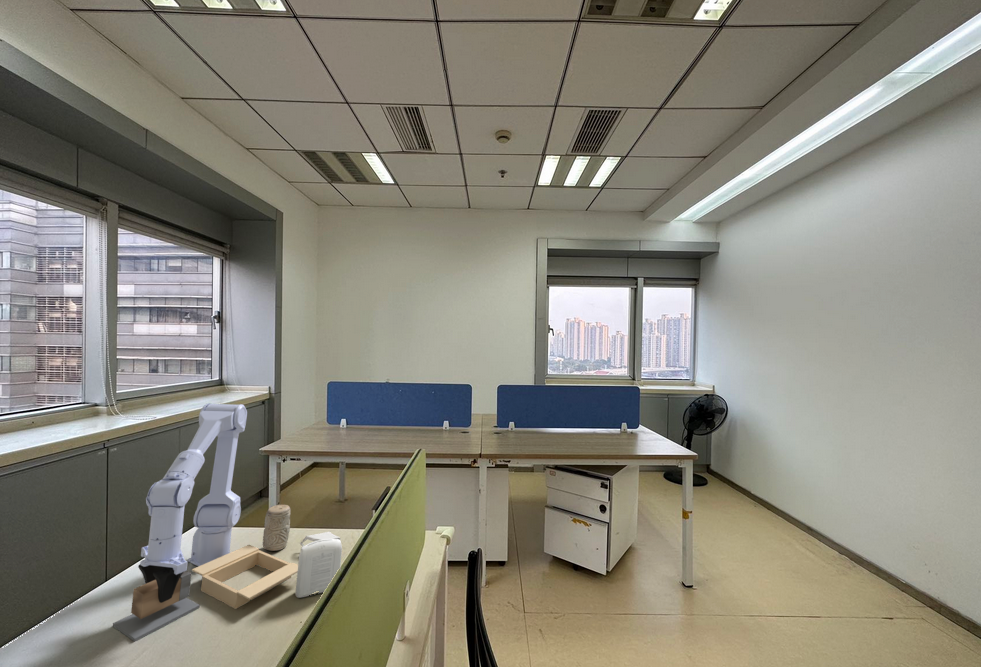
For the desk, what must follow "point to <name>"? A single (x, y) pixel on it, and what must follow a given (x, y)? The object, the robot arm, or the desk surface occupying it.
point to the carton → (237, 564)
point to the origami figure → (320, 537)
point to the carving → (276, 527)
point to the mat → (154, 619)
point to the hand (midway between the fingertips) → (159, 596)
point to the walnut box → (148, 599)
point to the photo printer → (317, 566)
